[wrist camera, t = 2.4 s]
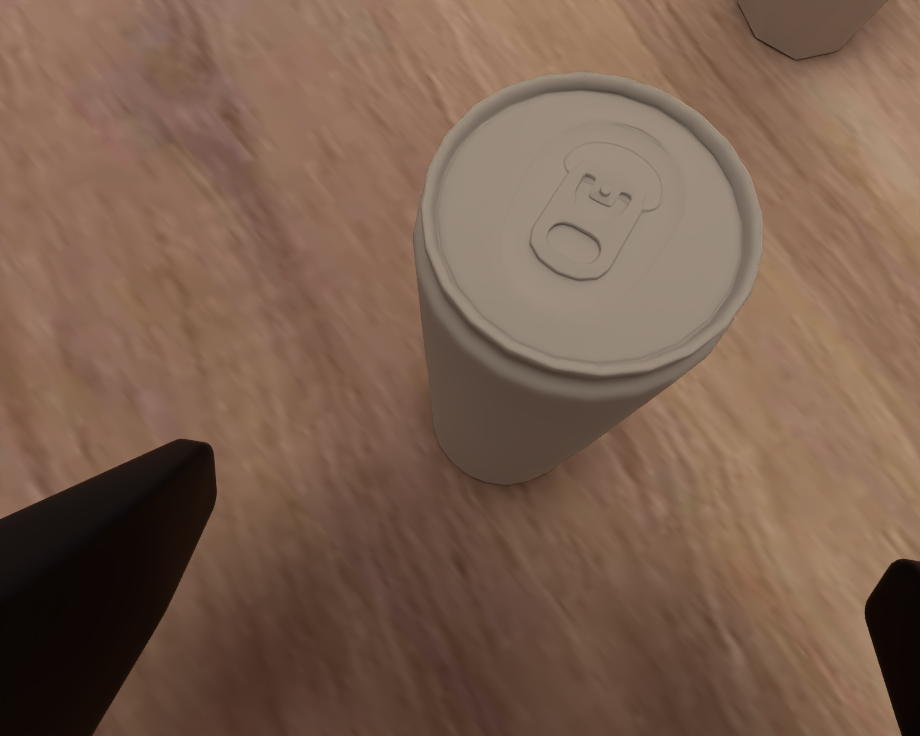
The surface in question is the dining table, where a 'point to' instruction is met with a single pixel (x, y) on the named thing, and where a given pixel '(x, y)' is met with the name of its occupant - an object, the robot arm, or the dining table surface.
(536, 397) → the beverage can
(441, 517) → the dining table surface
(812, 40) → the faceted bottle
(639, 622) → the dining table surface
